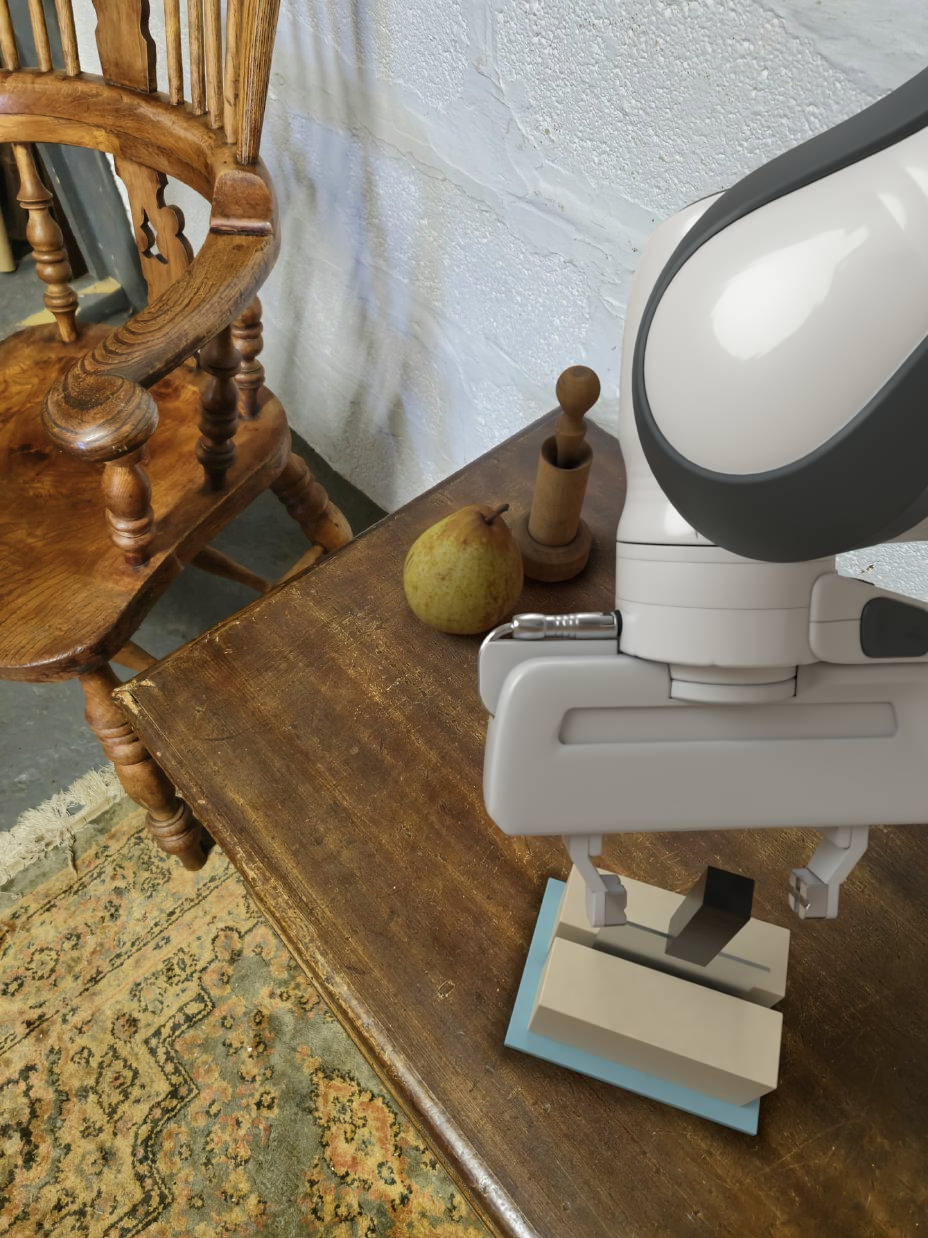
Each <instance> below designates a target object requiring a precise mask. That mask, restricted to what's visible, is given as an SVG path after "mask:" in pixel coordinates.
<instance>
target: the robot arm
mask: <svg viewBox="0 0 928 1238" xmlns="http://www.w3.org/2000/svg"><path fill="white" fill-rule="evenodd" d="M623 324H624V325H623V332H622V344H621V354H620V371H619V372H620V373H619V390H618V393H619V394H618V397H619V398H618V428H617V429H618V431H617V432H618V442H619V448H620V451H621V455H622V458H623V463H624V467H625V474H626V475H625V476H626V495H625V499H624V504H623V505H624V506H623V509H622V512H621V516H620V518H619V521H618V525H617V530H616V537H615V538H616V539H615V540H616V543H615V544H616V545H615V599H614V611H587V612H574V613H568V614H566V613H564V614H544V613H540V612H527V613H519V614H516V615H512V619H511V622H508V623H505V624H501V625H499V626H498V627H496V628H494V629H492V630H491V631H490V632H489V633H488V634H487V635H486V636H485V637H484V639H483V640H482V642H481V644H480V646H479V648H478V651H477V655H476V692H477V693H476V694H477V697H478V700H479V702H480V704H481V706H482V709H484V711H485V712H486V713H487V714H488V715H489V717H488V724H487V730H486V739H485V747H484V757H483V772H482V792H483V801H484V806H485V811H486V813H487V815H488V817H489V818H490V819H491V820H492V821H493V823H494V824H495V825H496V826H497V827H498V828H499V829H500V830H501V831H502V833H504V834H505V835H507V836H510V837H528V836H529V837H530V836H531V837H532V836H535V837H536V836H561V841H562V843H563V844H564V847H565V849H566V851H567V854H568V855H569V858H570V859H571V861H572V863H573V864H575V866H576V868H577V869H578V871H579V873H580V874H581V876H582V878H583V879H584V881H585V883H586V888H585V906H586V913H587V917H588V920H589V922H590V924H591V927H592V928H603V927H618V926H626V920H627V916H626V914H625V912H624V909H625V908H626V907H627V891H626V889H625V887H624V885H622V884H621V880H620V878H619V877H618V875H619V874H618V873H615V874H603V875H600V874H599V872H598V870H597V868H598V867H597V866H596V865H595V863H594V862H593V860H592V858H591V857H599V856H600V857H601V855H602V854H603V837H604V836H603V835H604V834H630V833H631V834H632V833H633V834H635V833H663V832H664V833H665V832H666V833H667V832H692V831H693V832H696V831H697V832H699V831H728V830H729V831H730V830H759V829H760V830H762V829H763V830H764V829H796V828H798V829H799V828H814V829H815V830H816V831H817V832H819V833H820V834H821V835H823V837H822V839H821V840H820V842H819V843H818V845H817V847H816V848H815V850H814V853H813V854H812V856H811V858H810V860H809V861H808V863H807V865H806V867H795V868H794V867H793V868H789V875H788V883H789V884H790V886H791V887H790V888H789V890H788V892H787V893H788V894H787V895H788V896H787V897H788V903H789V906H790V908H791V910H792V911H793V912H795V913H797V914H798V917H799V918H800V919H801V920H802V921H803V920H807V921H809V920H830V919H831V920H834V919H837V917H838V915H839V899H840V898H839V897H840V885H842V884H844V882H845V881H846V880H847V878H848V877H849V875H850V874H851V872H852V871H853V870H854V868H856V867H855V866H856V865H857V864H858V863H859V861H860V859H862V857H863V856H864V855H865V853H866V851H867V850H868V847H869V832H870V826H898V825H928V601H924V600H921V599H917V598H916V597H915V598H914V597H911V596H908V595H905V594H901V593H898V592H897V591H896V592H895V591H892V590H889V589H886V588H882V587H879V586H876V584H875V583H874V582H871V581H867V580H865V579H862V578H857V577H850V576H845V575H842V574H839V570H838V569H836V565H837V564H836V562H837V560H836V559H837V555H840V554H845V553H849V552H854V551H857V550H858V551H859V550H862V549H866V548H871V547H875V546H878V545H886V544H902V543H915V542H916V543H917V542H928V65H927V66H926V67H925V68H923V69H922V70H921V71H919V72H918V73H917V74H916V75H914V76H912V77H911V78H910V79H908V80H907V81H905V82H904V83H903V84H901V85H900V86H898V87H896V88H895V89H894V90H893V91H891V92H889V93H888V94H887V95H885V96H882V98H880V99H878V100H877V101H875V102H874V103H873V104H871V105H869V106H868V107H866V108H864V109H862V110H861V111H858V112H857V113H856V114H854V115H853V116H851V117H849V118H847V119H845V120H844V121H841V122H839V123H838V124H836V125H834V126H832V127H830V128H829V129H826V130H825V131H823V132H821V133H818V134H817V135H815V136H813V137H811V138H809V139H808V140H805V141H803V142H801V143H800V144H798V145H796V146H795V147H792V148H790V149H788V150H787V151H785V152H783V153H782V154H779V155H777V156H776V157H774V158H773V159H771V160H769V161H768V162H766V163H764V164H763V165H761V166H759V167H757V168H756V169H754V170H753V171H751V172H750V173H749V174H747V175H745V176H744V177H743V178H741V179H740V180H739V181H737V182H736V183H735V184H733V185H732V186H731V187H729V188H726V189H722V190H719V191H717V192H713V193H712V194H709V195H706V196H703V197H701V198H700V199H697V200H694V202H692V203H689V204H688V205H686V206H685V207H683V208H682V209H680V210H678V211H677V212H676V213H674V214H673V215H671V216H670V217H669V218H667V219H666V220H665V221H663V222H662V223H661V224H660V225H659V226H658V227H656V229H655V230H654V231H653V232H652V233H651V234H650V236H649V237H648V239H647V240H646V243H645V244H644V246H643V249H642V251H641V254H640V257H639V259H638V261H637V264H636V266H635V270H634V274H633V278H632V281H631V285H630V288H629V294H628V299H627V304H626V310H625V317H624V323H623ZM507 634H511V635H512V639H510V638H506V639H505V638H504V639H503V638H502V639H501V637H502V636H505V635H507ZM590 856H591V857H590ZM617 874H618V875H617Z"/></svg>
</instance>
